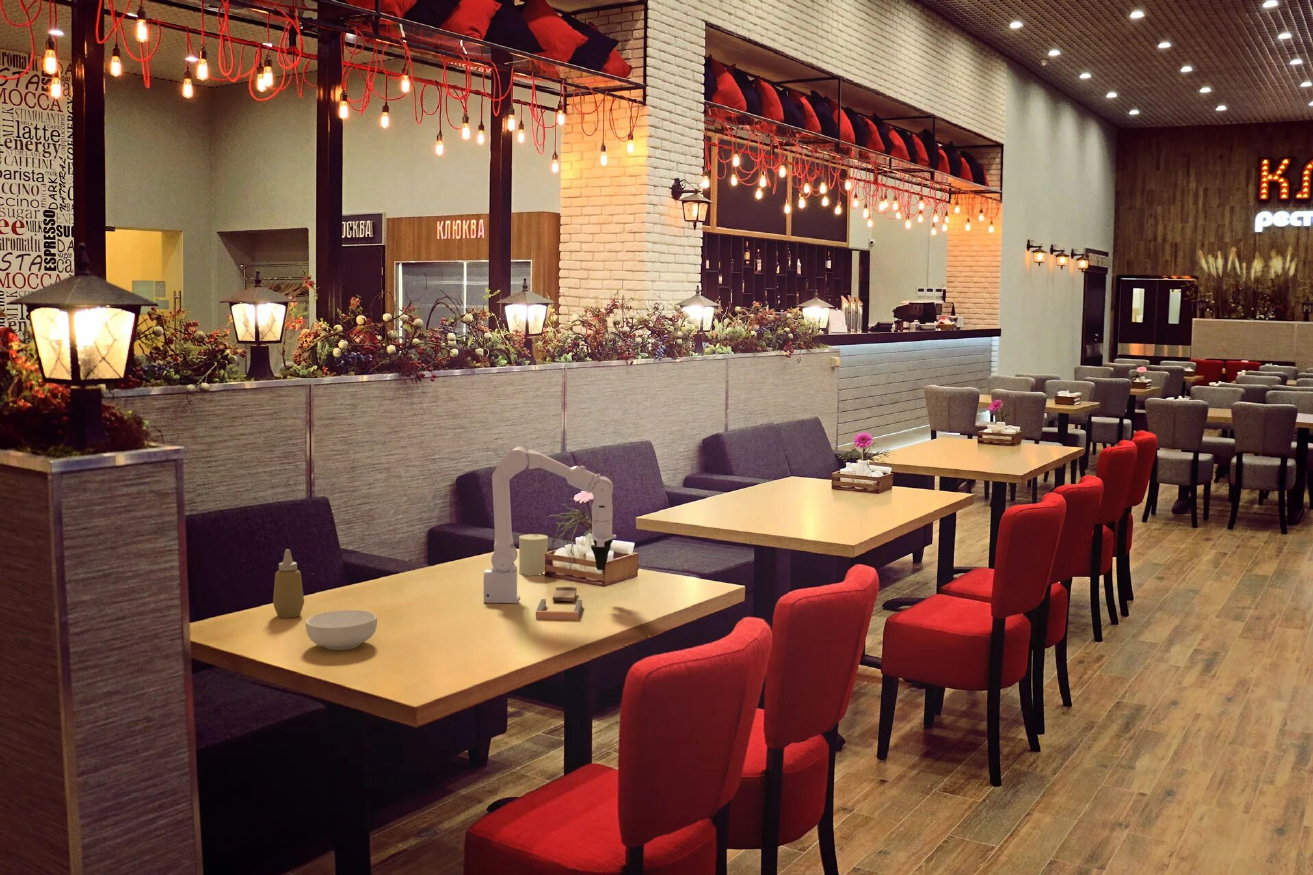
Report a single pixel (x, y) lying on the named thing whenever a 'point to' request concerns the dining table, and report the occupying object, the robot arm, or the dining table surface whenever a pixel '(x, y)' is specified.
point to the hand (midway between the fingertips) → (601, 566)
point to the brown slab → (565, 593)
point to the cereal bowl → (341, 628)
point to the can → (532, 553)
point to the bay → (558, 612)
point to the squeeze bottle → (288, 589)
